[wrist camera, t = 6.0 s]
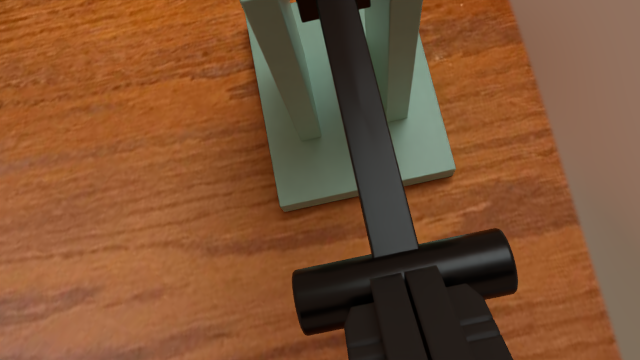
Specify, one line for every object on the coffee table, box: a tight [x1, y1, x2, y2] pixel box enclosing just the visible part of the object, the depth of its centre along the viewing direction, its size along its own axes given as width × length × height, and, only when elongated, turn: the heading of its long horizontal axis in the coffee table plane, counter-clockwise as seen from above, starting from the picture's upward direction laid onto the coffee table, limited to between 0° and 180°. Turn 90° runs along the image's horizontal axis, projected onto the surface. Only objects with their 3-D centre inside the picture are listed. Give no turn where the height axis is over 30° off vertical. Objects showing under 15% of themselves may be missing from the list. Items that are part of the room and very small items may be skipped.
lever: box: [292, 0, 518, 336], centre depth 15 cm, size 12×5×2 cm, turn 11°
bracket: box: [240, 0, 456, 212], centre depth 21 cm, size 10×8×13 cm
